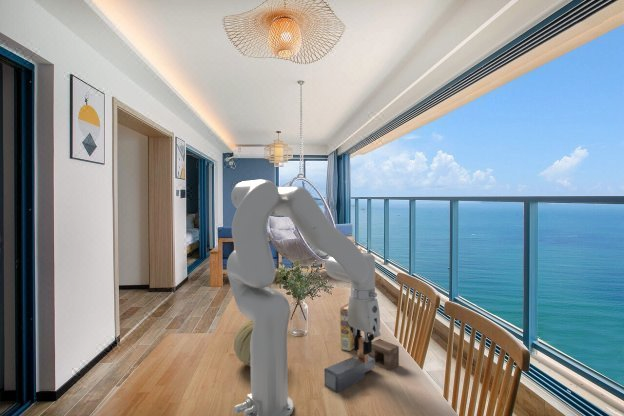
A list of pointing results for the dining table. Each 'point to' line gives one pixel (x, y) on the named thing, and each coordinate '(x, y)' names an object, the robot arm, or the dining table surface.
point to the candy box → (345, 330)
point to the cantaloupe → (244, 343)
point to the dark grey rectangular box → (344, 374)
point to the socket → (385, 354)
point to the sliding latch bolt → (365, 356)
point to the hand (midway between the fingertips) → (362, 350)
